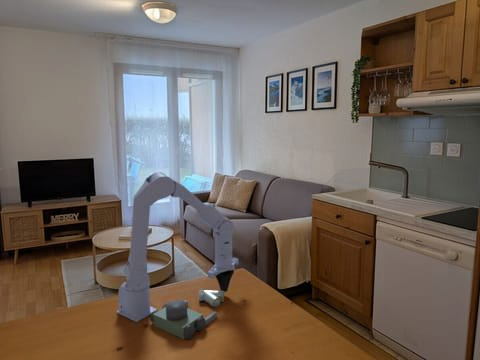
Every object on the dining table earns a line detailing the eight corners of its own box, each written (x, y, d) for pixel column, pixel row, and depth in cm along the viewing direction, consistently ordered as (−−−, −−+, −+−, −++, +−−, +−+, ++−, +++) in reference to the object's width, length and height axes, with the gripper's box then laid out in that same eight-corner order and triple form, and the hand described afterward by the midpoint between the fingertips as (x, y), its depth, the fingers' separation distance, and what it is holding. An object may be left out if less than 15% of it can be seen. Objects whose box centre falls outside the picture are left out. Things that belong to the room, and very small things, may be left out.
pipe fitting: (221, 310, 112) (224, 298, 119) (221, 299, 111) (224, 288, 118) (196, 309, 113) (200, 297, 120) (196, 298, 112) (200, 287, 119)
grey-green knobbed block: (150, 324, 103) (149, 303, 102) (184, 303, 115) (183, 285, 114) (186, 341, 95) (186, 319, 94) (219, 317, 107) (218, 297, 106)
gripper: (219, 262, 110) (220, 302, 112) (245, 248, 122) (245, 285, 124) (202, 257, 114) (203, 296, 116) (229, 244, 126) (229, 280, 128)
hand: (224, 290), depth 121 cm, fingers closed
